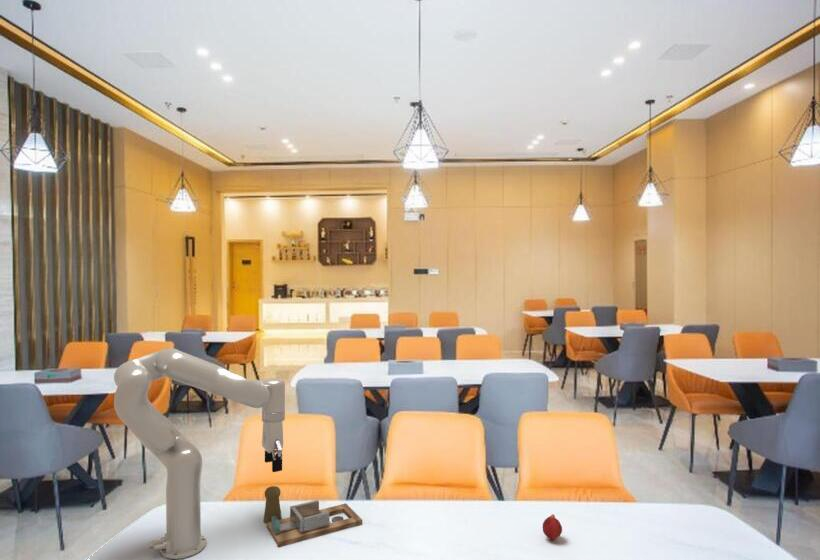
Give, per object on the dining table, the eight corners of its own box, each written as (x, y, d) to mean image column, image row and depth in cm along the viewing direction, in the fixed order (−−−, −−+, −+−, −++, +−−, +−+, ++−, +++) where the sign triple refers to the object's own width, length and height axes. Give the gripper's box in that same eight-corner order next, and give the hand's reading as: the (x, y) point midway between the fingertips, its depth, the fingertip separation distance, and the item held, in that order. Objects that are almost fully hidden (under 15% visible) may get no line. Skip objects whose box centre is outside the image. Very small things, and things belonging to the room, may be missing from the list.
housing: (278, 538, 155) (278, 525, 155) (269, 523, 165) (269, 511, 165) (329, 525, 164) (329, 512, 164) (317, 511, 173) (317, 499, 173)
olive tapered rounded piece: (284, 516, 174) (284, 484, 173) (278, 524, 168) (277, 491, 167) (267, 515, 174) (267, 483, 174) (260, 524, 168) (260, 491, 168)
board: (278, 547, 154) (278, 542, 154) (266, 527, 166) (266, 522, 166) (362, 524, 168) (362, 519, 168) (345, 507, 180) (345, 503, 180)
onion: (548, 546, 154) (548, 520, 154) (539, 536, 160) (539, 511, 160) (565, 543, 156) (565, 517, 156) (555, 534, 161) (555, 509, 161)
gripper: (256, 411, 176) (256, 460, 176) (268, 423, 161) (268, 477, 161) (277, 408, 180) (277, 456, 180) (291, 420, 165) (291, 472, 165)
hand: (273, 466), depth 171 cm, fingers open, 9 cm apart
